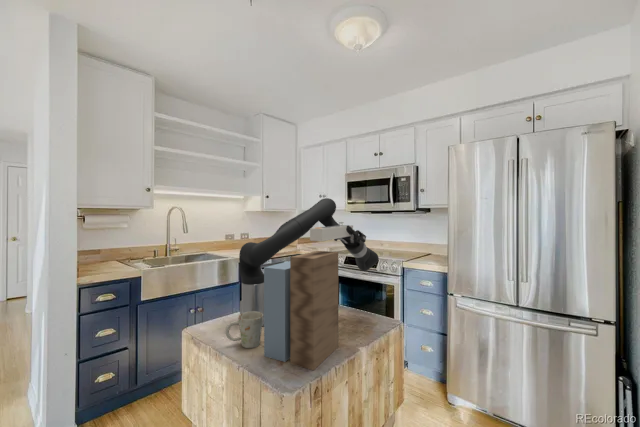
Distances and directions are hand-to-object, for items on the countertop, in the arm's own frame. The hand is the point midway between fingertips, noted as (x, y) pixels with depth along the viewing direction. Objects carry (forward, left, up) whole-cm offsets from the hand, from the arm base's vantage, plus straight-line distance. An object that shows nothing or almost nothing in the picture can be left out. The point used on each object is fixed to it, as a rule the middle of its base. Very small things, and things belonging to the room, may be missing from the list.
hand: (341, 227), depth 111 cm
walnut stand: (0, -20, -40) cm, 44 cm away
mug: (-25, -25, -40) cm, 54 cm away
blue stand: (-10, -20, -40) cm, 46 cm away
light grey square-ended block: (0, -7, -3) cm, 8 cm away
